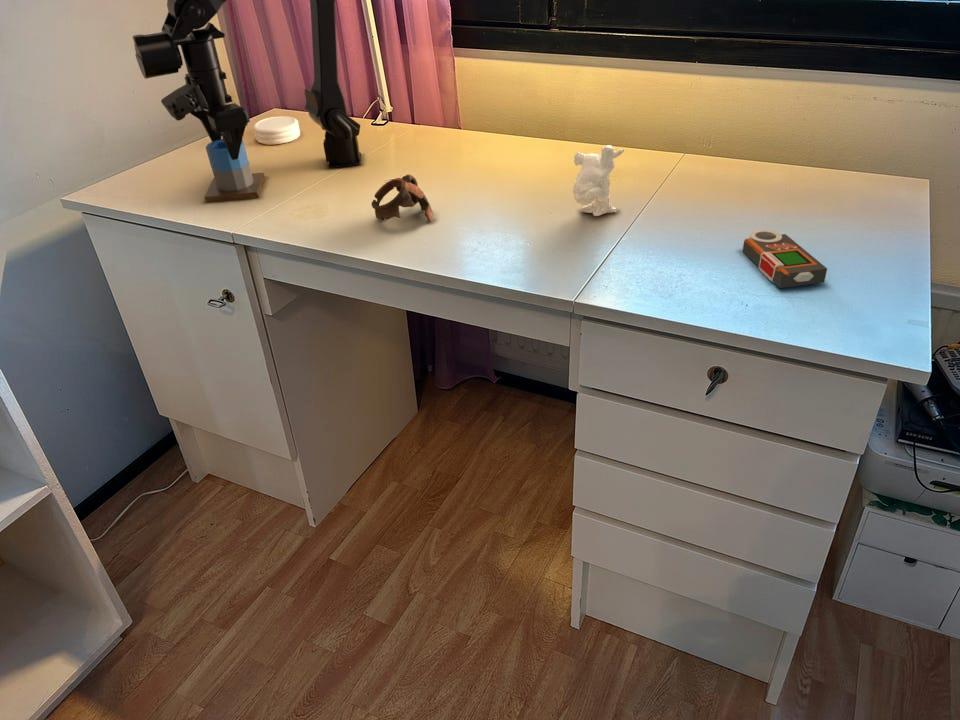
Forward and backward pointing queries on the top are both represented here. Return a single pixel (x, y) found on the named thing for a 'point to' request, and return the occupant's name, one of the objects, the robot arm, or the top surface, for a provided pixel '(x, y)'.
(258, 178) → the tape stand
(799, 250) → the electronic device
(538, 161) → the top surface
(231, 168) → the blue ring
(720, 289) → the top surface
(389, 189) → the brown looped band
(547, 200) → the top surface
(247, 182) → the grey thick polygonal ring
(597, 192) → the koala figurine
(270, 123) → the coaster
